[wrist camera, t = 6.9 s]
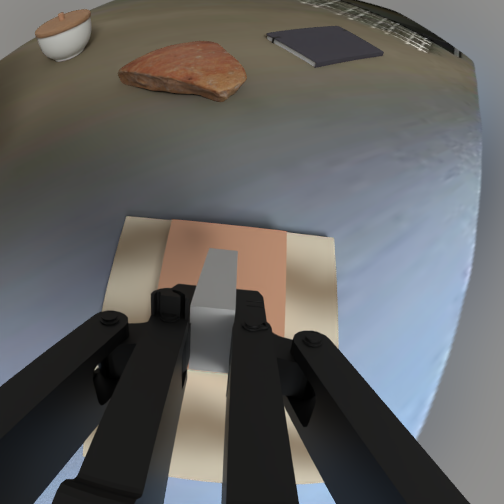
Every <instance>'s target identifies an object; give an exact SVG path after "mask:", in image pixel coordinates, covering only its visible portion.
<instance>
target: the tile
mask: <svg viewBox="0 0 504 504" xmlns="http://www.w3.org/2000/svg"><path fill="white" fill-rule="evenodd" d="M209 248H214V249H224V250H234V251H238V259H237V283H236V289H243V290H253V291H258V292H259V293H260V294H261V295H262V296H263V299H264V306H265V313H266V319H267V322H268V323H269V324H270V325H271V327H272V332H273V333H274V334H276V335H278V336H281V337H284V335H285V304H286V257H287V231H281V230H272V229H263V228H254V227H245V226H236V225H226V224H216V223H207V222H197V221H186V220H176V219H172V221H171V226H170V230H169V235H168V239H167V244H166V249H165V253H164V258H163V263H162V268H161V273H160V278H159V284H158V289H161V288H172V287H174V286H175V285H177V284H187V285H196V286H197V283H198V280H199V277H200V274H201V271H202V268H203V265H204V262H205V259H206V256H207V253H208V251H209ZM187 370H191V369H189V363H188V367H187ZM192 371H200V370H192ZM200 372H209V371H200ZM209 373H218V372H209ZM219 374H228V373H219Z"/></svg>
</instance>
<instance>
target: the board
mask: <svg viewBox="0 0 504 504" xmlns="http://www.w3.org/2000/svg"><path fill="white" fill-rule="evenodd" d="M171 221H172V220H163V219H152V218H141V217H130V216H126V220H125V223H124V226H123V230H122V233H121V236H120V240H119V243H118V247H117V251H116V254H115V258H114V262H113V266H112V269H111V273H110V277H109V281H108V286H107V290H106V294H105V299H104V303H103V308H102V312H103V311H107V310H110V311H111V310H114V311H118V312H121V313H123V314H125V315H126V316H127V317H128V323H144V322H148V320H149V318H150V316H151V293H152V292H153V291H155V290H157V289H158V284H159V278H160V273H161V268H162V263H163V258H164V253H165V249H166V244H167V239H168V235H169V230H170V226H171ZM310 330H311V331H317V332H319V333H321V334H324V335H326V336H327V337H328V338H329V339H330V340H331V341H332V342H333V343H334V345H335V346H336V347H337V348H338V304H337V280H336V262H335V246H334V238H330V237H321V236H313V235H305V234H296V233H288V232H287V257H286V304H285V335H284V338H288V339H292V340H293V337H294V335H295V334H296V333H298V332H300V331H310ZM97 368H98V365H97V367H96V368H95V370H96V369H97ZM227 380H228V374H219V373H209V372H200V371H192V370H187V382H186V387H185V392H184V397H183V401H182V406H181V411H180V416H179V421H178V426H177V432H176V437H175V442H174V447H173V453H172V458H171V463H170V469H169V475H168V476H169V477H175V478H182V479H189V480H197V481H206V482H217V483H222V478H223V455H224V434H225V414H226V390H227ZM284 409H285V407H284ZM285 415H286V421H287V428H288V434H289V441H290V448H291V454H292V461H293V467H294V474H295V481H296V484H311V483H324V481H323V479H322V477H321V476H320V474H319V472H318V470H317V468H316V466H315V464H314V463H313V461H312V459H311V457H310V455H309V453H308V451H307V449H306V448H305V446H304V444H303V442H302V440H301V438H300V436H299V434H298V432H297V430H296V428H295V427H294V425H293V423H292V421H291V419H290V417H289V415H288V413H287V411H286V409H285ZM98 426H99V425H98ZM98 426H97V427H96V428H95V430H94V431H93V432H92V433H91V434H90V436H89V437H88V438H87V439H86V440H85V442H84V446H83V456H84V457H85V456H86V454H87V451H88V449H89V447H90V444H91V442H92V439H93V437H94V435H95V432H96V430H97V428H98Z"/></svg>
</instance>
